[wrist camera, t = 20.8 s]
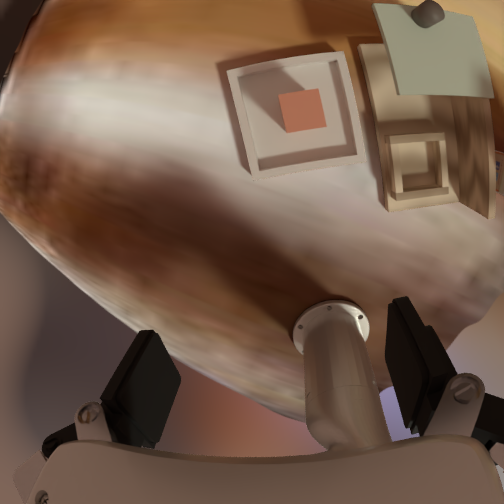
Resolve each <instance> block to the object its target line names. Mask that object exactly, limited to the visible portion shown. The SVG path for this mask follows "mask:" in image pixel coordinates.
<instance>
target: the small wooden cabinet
mask: <svg viewBox="0 0 504 504" xmlns="http://www.w3.org/2000/svg"><path fill="white" fill-rule="evenodd" d="M357 49H358V53H359V56H360V60H361V64H362V68H363V72H364V76H365V80H366V84H367V88H368V93H369V98H370V102H371V107H372V112H373V118H374V123H375V129H376V135H377V141H378V148H379V155H380V162H381V171H382V179H383V189H384V200H385V209H386V210H387V211H388V212H394V211H401V210H408V209H414V208H421V207H428V206H435V205H442V204H449V203H456V202H460V203H462V204H464V205H466V206H467V207H469V208H471V209H473V210H474V211H476V212H478V213H479V214H481V215H482V216H484V217H486V218H487V219H492V218H495V204H496V161H495V144H494V132H493V123H492V115H491V108H490V102H489V98H482V97H470V96H452V95H397V94H396V89H395V84H394V80H393V76H392V72H391V68H390V64H389V60H388V56H387V52H386V49H385V45H384V44H359V45H358V46H357Z"/></svg>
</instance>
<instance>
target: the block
mask: <svg viewBox="0 0 504 504" xmlns="http://www.w3.org/2000/svg"><path fill="white" fill-rule="evenodd" d="M278 98H279V104H280V108H281V112H282V116H283V121H284V125H285V130H286V133H291V132H297V131H303V130H309V129H316V128H322V127H327V125H326V120H325V116H324V111H323V106H322V102H321V98H320V93H319V89H318V88H317V89H310V90H304V91H297V92H291V93H285V94H280V95H278Z"/></svg>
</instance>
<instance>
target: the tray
mask: <svg viewBox="0 0 504 504" xmlns="http://www.w3.org/2000/svg"><path fill="white" fill-rule="evenodd" d="M227 75H228V79H229V83H230V87H231V91H232V95H233V99H234V104H235V108H236V112H237V116H238V120H239V124H240V128H241V132H242V137H243V141H244V145H245V149H246V153H247V158H248V162H249V166H250V170H251V175H252V179H253V181H255V180H260V179H265V178H270V177H275V176H281V175H286V174H292V173H297V172H303V171H309V170H315V169H321V168H328V167H335V166H341V165H348V164H356V163H363V162H366V155H365V149H364V143H363V137H362V131H361V125H360V120H359V115H358V110H357V105H356V100H355V96H354V91H353V87H352V82H351V78H350V74H349V70H348V66H347V63H346V59H345V55H344V52H343V51H340V52H329V53H319V54H311V55H303V56H296V57H290V58H284V59H278V60H272V61H267V62H262V63H257V64H253V65H248V66H244V67H240V68H236V69H232V70H228V71H227ZM317 88H318V89H319V93H320V98H321V102H322V106H323V111H324V116H325V120H326V125H327V127H322V128H316V129H309V130H303V131H297V132H291V133H286V130H285V125H284V121H283V116H282V112H281V108H280V104H279V98H278V95H280V94H285V93H291V92H297V91H304V90H310V89H317Z"/></svg>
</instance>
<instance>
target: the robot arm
mask: <svg viewBox="0 0 504 504" xmlns="http://www.w3.org/2000/svg"><path fill="white" fill-rule="evenodd" d="M369 329H370V327H369V321H368V318H367V316H366V314H365V312H364V311H363V310H362V309H361V308H360V307H359V306H357V305H356V304H354V303H351V302H348V301H344V300H329V301H324V302H321V303H318V304H316V305H313V306H311V307H310V308H308V309H307V310H305V311H304V312H303V313H302V314H301V315H300V316H299V318H298V319H297V320H296V323H295V325H294V328H293V341H294V345H295V347H296V348H297V350H298V351H299V352H300V353H301V354H302V355H304V379H305V414H306V425H307V428H308V430H309V432H310V434H311V435H312V437H313V438H314V439H315V440H316V441H317V442H318V443H319V444H321V445H322V446H323V447H324V448H326V449H327V450H328V451H325V452H321V453H317V454H311V455H299V456H285V457H220V456H205V455H193V454H182V453H173V452H167V451H160V450H153V449H154V448H155V444H156V443H157V442H159V440H160V437H161V435H162V432H163V429H164V427H165V424H166V421H167V418H168V416H169V413H170V410H171V407H172V405H173V402H174V399H175V396H176V394H177V391H178V388H179V386H180V383H181V376H180V374H179V372H178V370H177V369H176V367H175V365H174V363H173V361H172V359H171V357H170V355H169V354H168V352H167V350H166V348H165V346H164V344H163V342H162V340H161V338H160V336H159V334H158V333H155V331H154V330H141V331H139V333H138V334H137V336H136V338H135V339H134V341H133V342H132V344H131V346H130V347H129V349H128V351H127V352H126V354H125V356H124V357H123V359H122V361H121V362H120V364H119V366H118V367H117V369H116V371H115V372H114V374H113V376H112V378H111V379H110V381H109V383H108V385H107V386H106V388H105V390H104V392H103V393H102V395H101V397H100V399H101V400H102V403H101V404H99V403H98V402H95V401H91V402H87V403H85V404H83V405H82V406H81V407H80V408H79V409H78V410H77V412H76V414H75V423H73V424H71V425H69V426H67V427H65V428H63V429H61V430H59V431H57V432H55V433H53V434H51V435H50V436H48V437H47V438H46V439H45V440H44V442H43V445H42V452H41V451H40V450H38V451H37V452H36V453H35V454H34V455H32V456H31V457H30V458H29V459H28V460H26V461H25V462H24V463H23V464H22V465H20V466H19V467H18V468H17V469H16V470H15V472H14V475H13V480H14V483H15V485H16V488H17V490H18V492H19V494H20V496H21V498H22V500H23V503H24V504H504V492H503V487H502V484H501V480H500V477H499V474H498V471H497V469H496V466H495V465H499V466H501V467H502V468H503V469H504V399H502V398H499V397H496V396H494V395H491V394H488V393H485V387H484V384H483V382H482V380H481V379H480V378H479V377H477V376H476V375H473V374H471V373H461V374H457V372H456V370H455V368H454V366H453V364H452V362H451V360H450V358H449V356H448V354H447V353H446V351H445V349H444V347H443V345H442V343H441V341H440V340H439V338H438V336H437V334H436V333H435V331H434V329H433V328H432V326H430V325H428V326H424V324H423V322H422V320H421V319H420V317H419V315H418V313H417V312H416V310H415V308H414V306H413V305H412V303H411V301H410V300H409V298H408V297H407V296H405V297H400V298H396V299H393V301H392V303H390V304H388V318H387V334H386V346H385V361H386V364H387V367H388V370H389V373H390V377H391V380H392V383H393V386H394V390H395V393H396V397H397V400H398V403H399V407H400V411H401V414H402V418H403V422H404V425H405V428H410V430H411V434H416V433H419V435H420V437H414V438H409V439H404V440H399V441H394V442H392V439H391V436H390V433H389V430H388V427H387V424H386V420H385V416H384V412H383V409H382V405H381V400H380V396H379V392H378V388H377V384H376V380H375V377H374V373H373V369H372V365H371V362H370V358H369V355H368V351H367V348H366V344H365V341H366V340H367V337H368V335H369ZM141 446H143V447H147V448H153V449H147V448H141ZM503 473H504V471H503Z"/></svg>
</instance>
